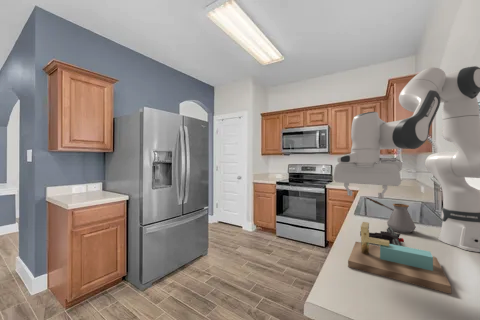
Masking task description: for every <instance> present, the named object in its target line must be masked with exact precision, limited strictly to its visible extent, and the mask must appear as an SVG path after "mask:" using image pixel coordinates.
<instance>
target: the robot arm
mask: <svg viewBox="0 0 480 320" xmlns="http://www.w3.org/2000/svg"><path fill="white" fill-rule="evenodd" d="M479 93H480V67H479V66H477V65H475V66H473V65H472V66H468V67H467V66H466V67H463V68H461V69H458V70H453V71H450V72H445V71H444V70H443V69H441V68H439V67H427V68H424V69H423V70H421V71H420V72H418V73H417V74H416V75H415V76H413V77H412V78H411V79H410V80H409V81H408V83H406V85H405V86H404V87H403V88H402V90H401V91H400V93H399V95H398V102H399V104H400V106H401V107H402V108H403V109H404V110H405V111H406V110H407V111H408V112H411V113H413V114H412V115H411V116H409V117H407V118H403V119H400V120H394V121H389V122H388V121H384V120H383V119H381V118H380V117H379V112H377V111H368V112H364V113H359V114H357V115H355V116H353V119H352V123H351V133H350V137H351V138H350V139H351V143H352V144H351V148H350V153H348V154H345V155H344V154H343V155H340V156H338V157H337V162H338V163H336V165H335V167H334V172H333V181H334V182H335V183H340V184H341V183H342V184H343V186H344V188H345V189H346V192H347V196H350V197H353V190H352V189H350V187H349V186H350V184H355V185H356V184H358V185H359V184H360V185H375V186H382V189H383V190H382V191H381V192H378V193H377V194H378V195H377V197H378V199H384V196H385V195H384V194H385V193H386V191H387V190H388V186H390V187H399V186H400V185H401V184H402V182H401V181H402V180H401V173H400V172H401V171H402V170H403V162H402V161H401V160H400V159H398V158H397V157H390V158H389V157H381V150H397V149H403V150H416V149H418V148H420V147H422V146H423V144H425V143H426V142H427V140H428V138H429V136H430V134H429V133H430V128H431V125H432V123H433V122H434V119H435V117H436V116H437V113H438V110H439V108H440V106H441V103H443V105H442V111H441V125H442V126H441V128H442V130H441V132H442V135H441V136H442V137H443V139H445V141H447V142H450V143H453V144H454V145H455V147H456V150H455V151H452V150H451V151H450V150H449V151H440V152H439V151H438V152H435V153H432V154H429V155H428V156H427V157H426V159H425V162H424V163H425V164H424V165H425V168H426V170H427V171H428V172H429V173H431V174H432V175H433V176H434V177H435V179H436V180H437V182H438V183H439V185H440V187H441V191H442V201H443V203H442V204H443V205H442V207H441V221H442V223H441V229H440V232H439V235H438V240H439V241H440V242H443V243H445V244H448V245H450V246H455V247H458V248H459V249H462V250H466V251H470V252H476V253H480V190H478V189H477V188H475V187H474V186H471V185H470V184H469V183H468V181H466V178H474V179H475V178H477V179H480V106H479V101H478V98H477V96H478V95H479Z"/></svg>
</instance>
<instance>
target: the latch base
mask: <svg viewBox="0 0 480 320" xmlns="http://www.w3.org/2000/svg"><path fill="white" fill-rule="evenodd" d="M432 257H433V271H431V270H426V269H422V268H418V267H413V266H409V265H404V264H400V263H396V262H391V261H387V260H382V259H380V245H377V244H376V245H375V244H372V243H369V254H365V253H362V252H361V241H355V243H354V245H353V248H352V249H351V252H350V254H349V258H348V260H347V267H348V268H352V269H355V270H358V271H359V270H360V271H363V272H365V273H371V274H373V275H378V276H382V277H385V278H386V277H387V278H390V279H393V280H398V281H401V282H404V283H407V284H412V285H416V286H420V287H424V288H427V289H430V288H431V290H434V289H435V291H438V290H439V291H438V292H442V291H443V292H442V293H446V294H449V293H450V294H452V286H451V283H450V281H449V279H448V277H447V275H446V273H445V272H444V270H443V268H442V266H441V264H440V261H439V260H438V258H437V257H436V256H432Z"/></svg>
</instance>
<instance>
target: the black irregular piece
mask: <svg viewBox="0 0 480 320" xmlns="http://www.w3.org/2000/svg"><path fill="white" fill-rule="evenodd" d="M359 233H360V237H361V230H360V232H359ZM400 235H401V233H398V232H395V231H393V229H392V228H391V227H389V226H387V228H386V231H382V230H381V231H380V232H369V237H372V238H378V239H383V240H389V244H393V245H398V246H403V245H402V243H405V240H404V238H403V237H402V238H401V237H400Z"/></svg>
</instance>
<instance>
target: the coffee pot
mask: <svg viewBox="0 0 480 320" xmlns="http://www.w3.org/2000/svg"><path fill="white" fill-rule="evenodd" d="M366 200H369V201H370V202H372V203H374V204H377V205H379V206H381V207H384V208H386V209H388V210H390V211H391V214H390V216H389V217H388V219H387V221H386V225H387V227H391V228H392V229H393V231H394V232H395V233H400V234H401V233H402V234H411V232H414V231H415V230H416V225H415V222H414V220H413V219H412V217H411V214H410V212H409V209H408V208H409V207H410V206H409V205H408V204H405V203H393V204H392V206H393V207H394V208H392V207H390V206H388V205H385V204H383V203H381V202H379V201H377V200H374V199H373V198H370V197H367V196H366V197H365V199H364V201H366Z"/></svg>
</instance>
